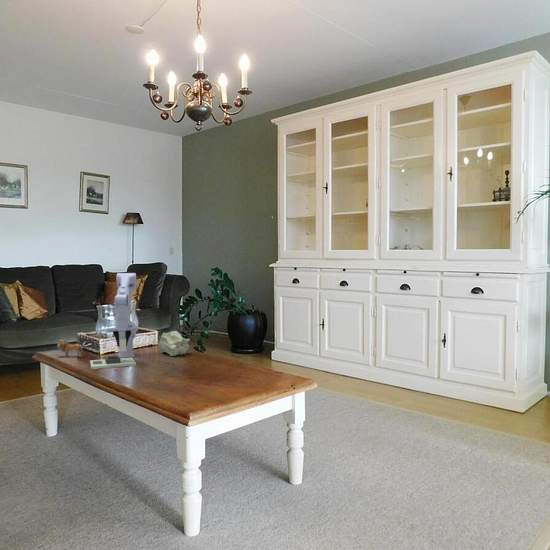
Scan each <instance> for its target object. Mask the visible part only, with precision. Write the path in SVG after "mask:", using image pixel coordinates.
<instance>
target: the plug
mask: <svg viewBox="0 0 550 550" xmlns="http://www.w3.org/2000/svg"><path fill="white" fill-rule="evenodd" d="M119 351H126V338H125V337H119V347H118V352H119Z"/></svg>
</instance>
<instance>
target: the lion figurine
mask: <svg viewBox="0 0 550 550" xmlns="http://www.w3.org/2000/svg"><path fill="white" fill-rule="evenodd" d="M56 347H57V349H59V350H60V351H61V352H64V354H65V356H64V358H68V356H69V352H76V353H77V354H78V355H76V357H79V358H80V357H81V358H83V356H86V357H87V354H85V353H84V351H83V347H82V346H81V344H78V343H75V344H71V343H70V342H69V341H66V340H64V339H59V340H58V341H57V346H56Z"/></svg>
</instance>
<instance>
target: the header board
mask: <svg viewBox="0 0 550 550" xmlns="http://www.w3.org/2000/svg"><path fill="white" fill-rule="evenodd" d="M89 362H90V363H89V364H90V369H91V370H98V369H99V368H102V369H113V368H114V367H115V368H124V367H123V366H128V367H136V366H137V363H136V361H135V359H134V358H133V357H123V358H120V357H119V356H118V355H111V356H109V355H108V356H105V357H104V359H103V358H102V359H93V360H91V359H90V360H89Z"/></svg>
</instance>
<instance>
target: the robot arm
mask: <svg viewBox="0 0 550 550" xmlns="http://www.w3.org/2000/svg"><path fill="white" fill-rule="evenodd" d="M116 285H117V286H116V287H117V293H116V295H115V296H114V306H115V309H114V310H115V327H108V328H106V329H105V331H106V333H109V334H110V333H112V335H114V336H113V337H114V339H115V342H116V345H117V346H116V347H117V348H119V337H125V338H126V351H119V350H118V353H117V354H116V356H119V357H120V358H131V357H132V358H133V357H135V354H134V339H135V338H136V337H137V335H136V334H137V332H138V330H139V327H138V326H136V323H135V322H133V321H132V320H131V311H132V310H131V308H132V293H133V291H135V290H136V287H137V274H136V272H117V274H116Z"/></svg>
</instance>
